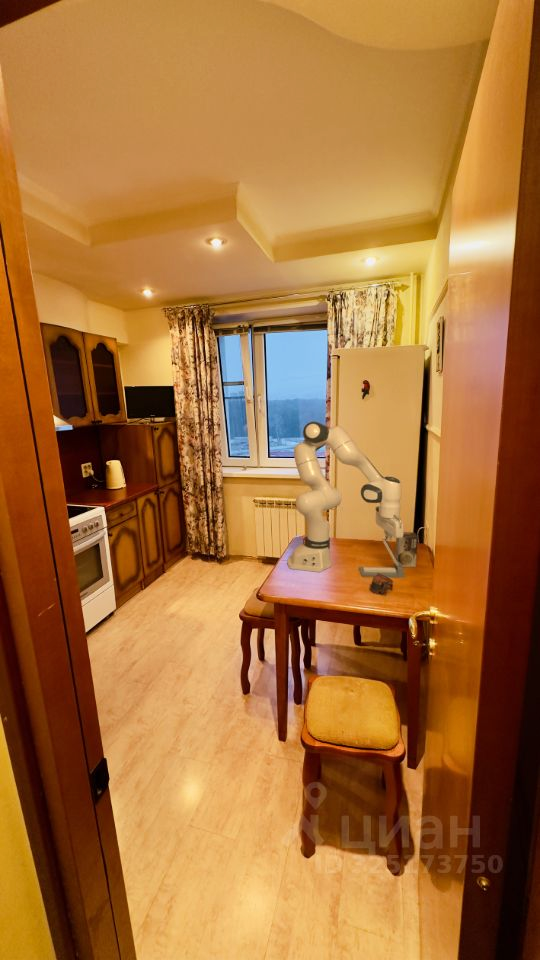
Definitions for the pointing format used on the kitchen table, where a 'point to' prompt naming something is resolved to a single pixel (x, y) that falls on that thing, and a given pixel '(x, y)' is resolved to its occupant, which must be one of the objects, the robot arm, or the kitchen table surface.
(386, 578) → the pottery mug
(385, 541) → the arm
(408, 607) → the kitchen table surface
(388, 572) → the base
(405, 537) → the coffee box
